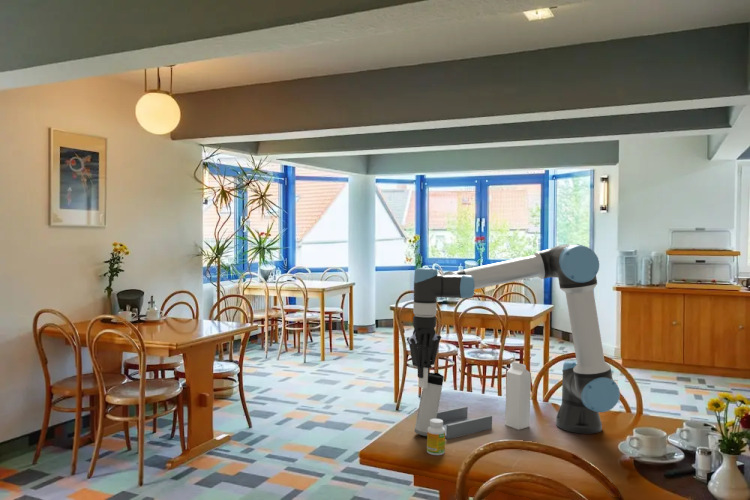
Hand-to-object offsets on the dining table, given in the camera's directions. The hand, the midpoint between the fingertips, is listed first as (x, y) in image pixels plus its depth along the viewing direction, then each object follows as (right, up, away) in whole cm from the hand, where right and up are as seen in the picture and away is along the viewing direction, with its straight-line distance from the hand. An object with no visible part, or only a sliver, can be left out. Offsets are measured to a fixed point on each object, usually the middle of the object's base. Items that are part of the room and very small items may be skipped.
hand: (423, 387), depth 187 cm
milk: (+34, -17, +14) cm, 40 cm away
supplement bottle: (+3, -17, -13) cm, 22 cm away
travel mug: (0, -16, +1) cm, 16 cm away
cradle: (+13, -16, +9) cm, 23 cm away
